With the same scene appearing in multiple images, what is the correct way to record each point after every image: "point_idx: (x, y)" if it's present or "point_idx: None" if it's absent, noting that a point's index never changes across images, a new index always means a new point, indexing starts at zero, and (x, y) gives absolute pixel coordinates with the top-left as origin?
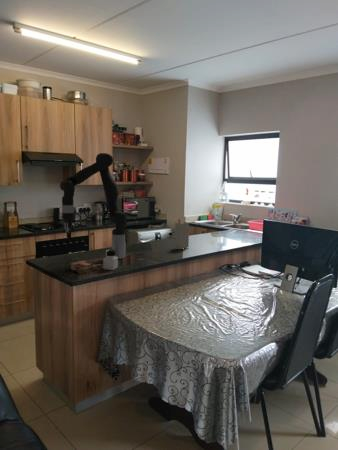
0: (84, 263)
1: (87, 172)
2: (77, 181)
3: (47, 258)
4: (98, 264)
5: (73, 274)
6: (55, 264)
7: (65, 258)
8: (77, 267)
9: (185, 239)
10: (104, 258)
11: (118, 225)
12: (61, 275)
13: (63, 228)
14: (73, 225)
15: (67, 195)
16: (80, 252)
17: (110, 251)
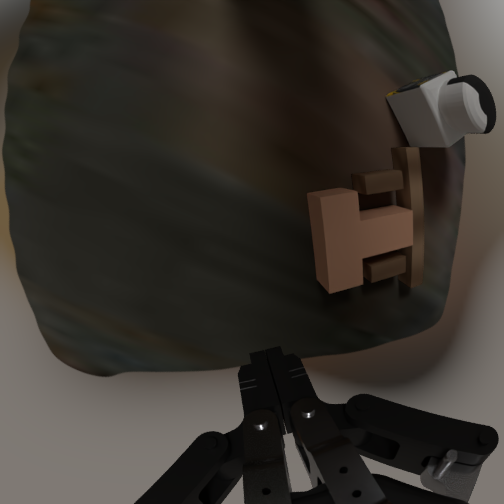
0: (383, 232)
1: None
2: None
3: (37, 289)
4: (413, 164)
5: (389, 300)
6: (173, 308)
7: (69, 204)
8: (383, 278)
9: None
10: (452, 144)
11: None
12: (366, 342)
13: (200, 499)
14: (476, 466)
15: None
16: (9, 81)
17: (494, 123)
